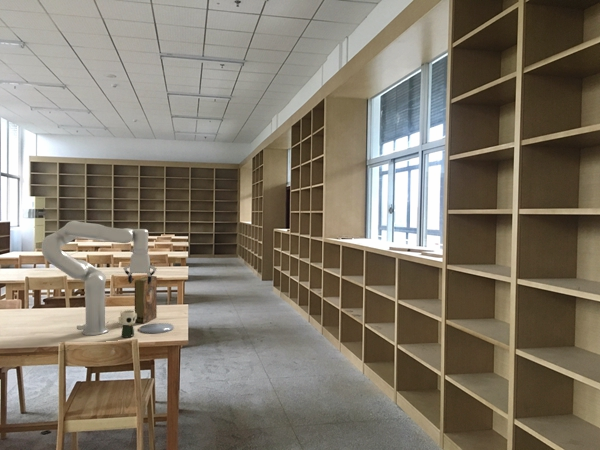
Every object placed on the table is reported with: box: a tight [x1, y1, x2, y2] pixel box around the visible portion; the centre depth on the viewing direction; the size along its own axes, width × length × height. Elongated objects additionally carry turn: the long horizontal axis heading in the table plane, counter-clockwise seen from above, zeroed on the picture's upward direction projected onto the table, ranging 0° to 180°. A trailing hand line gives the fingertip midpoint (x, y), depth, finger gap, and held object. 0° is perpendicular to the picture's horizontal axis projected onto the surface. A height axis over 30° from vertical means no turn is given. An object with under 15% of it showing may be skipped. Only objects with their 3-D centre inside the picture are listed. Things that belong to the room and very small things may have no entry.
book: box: [134, 275, 158, 324], centre depth 278 cm, size 16×6×25 cm, turn 168°
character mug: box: [118, 309, 137, 338], centre depth 244 cm, size 11×7×13 cm, turn 148°
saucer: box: [138, 322, 175, 334], centre depth 260 cm, size 18×18×1 cm
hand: (139, 283), depth 257 cm, fingers open, 9 cm apart
